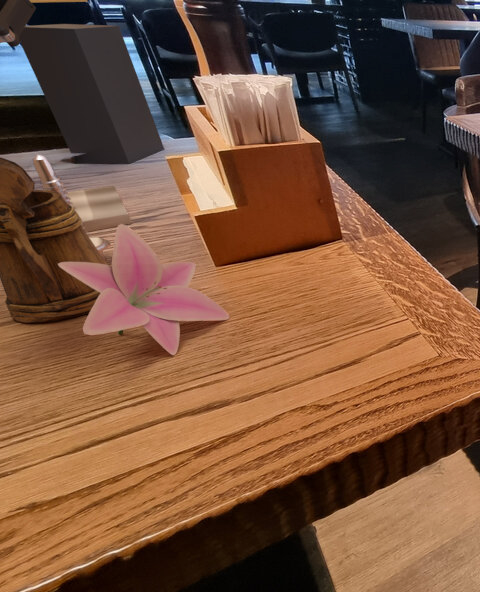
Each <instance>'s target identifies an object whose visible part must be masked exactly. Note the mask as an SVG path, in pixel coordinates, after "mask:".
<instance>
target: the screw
mask: <svg viewBox="0 0 480 592" xmlns="http://www.w3.org/2000/svg"><path fill="white" fill-rule="evenodd" d="M32 162H33V165H34V169H35V170H36V173H37V174H38V176H39V177H38V179H39V180H40V183H39V185H42V190H49V191H57V192H59V193H60V194H61V196H62V197H63V198H64V200H65V201H66V203H67V204H70V205H71V206H72V205H73V203H72V202H70V200H71V198H70V197H68V196H67V195H68V194H69V193H67V192H68V191H66V190H67V187H65V186H64V185H65V183H64V182H62V181H60V180H61V177H60V176H57V174H56V171H55V170H54V168H53V166H52V164H51V162H50V161H49V160H48V159H47V157H46V156H44V155H42V154H36V155H35V156H33V158H32ZM73 208H74V210H75V209H76V208H75V207H73ZM77 214H78V213H77ZM82 224H83V223H82ZM82 224H81V225H82ZM82 227H83V229H85V227H84V226H82ZM85 232H86V231H85ZM86 234H87V235H88V232H86ZM88 237H89V238H90V240H91V241H92V243H93V244H94V245H95V247H96V248H97V250H98V251H99V253H100V254H101V256H102V257H103V258H104V260H105V261H106V257H105V255H104V253H103V252H104V251H106V250H107V249H109V248H110V247H111V242H110V240H108V239H105V238H103V237H96V236H95V237H90V236H89V235H88Z"/></svg>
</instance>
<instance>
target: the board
mask: <svg viewBox="0 0 480 592" xmlns="http://www.w3.org/2000/svg"><path fill="white" fill-rule="evenodd" d="M66 192H67V193H69V194H68V195H67V196H68V197H70V198H71V200H70V202H72V203H73V205H72V207H75V208H76V209H75V211H76V212H77V213H78V215H79V217H80V218H81V220H82V223H83V224H82V226H84V227H85V229H84V231H86V232H87V233H88V232H94V231H99V230H105V229H110V228H117V227H118V225H120V224H123V225H126V226H128V225H132V224H133V221H132V219H131V216H130V215H129V212H128V210H127V208H126V206H125V204H124V202H123V200H122V198H121V197H120V195H119V192H118V191H117V189H116V187H115V185H107V186H101V187H94V188H87V189H80V190H73V191H66Z"/></svg>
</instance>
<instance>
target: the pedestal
mask: <svg viewBox="0 0 480 592" xmlns="http://www.w3.org/2000/svg"><path fill="white" fill-rule="evenodd" d="M19 41H20V45H21V48H22V50H23V52H24V54H25V56H26V58H27V61H28V63H29V65H30V67H31V69H32V71H33V74H34V76H35V78H36V80H37V82H38V85H39V87H40V89H41V91H42V94H43V96H44V97H45V100H46V102H47V105H48V106H49V108H50V110H51V113H52V115H53V117H54V119H55V121H56V124H57V126H58V129H59V130H60V133H61V135H62V137H63V140H64V141H65V143H66V146H67V148H68V149H69V152H70V154H77V155H73V156H72V159H73V161H74V163H75V164H79V165H83V164H84V165H85V164H86V165H87V164H88V165H91V164H92V165H113V164H114V165H130V164H132V163H135V162H137V161H140V160H142V159H145V158H147V157H149V156H151V155H155V154H157V153H159V152H161V151H164V150H165V147H164V144H163V141H162V138H161V136H160V134H159V131H158V127H157V125H156V122H155V120H154V117H153V115H152V111H151V108H150V107H149V104H148V100H147V99H146V96H145V93H144V90H143V88H142V85H141V81H140V79H139V77H138V74H137V71H136V68H135V66H134V62H133V61H132V58H131V55H130V52H129V50H128V47H127V44H126V42H125V38H124V36H123V34H122V31H121V28H120V26H119V25H102V24H101V25H100V24H79V23H78V24H77V23H76V24H74V23H58V24H57V23H56V24H55V23H54V24H39V25H38V24H37V25H26V26H25V28H24V29H23V31H22V33H21V34H20V36H19Z"/></svg>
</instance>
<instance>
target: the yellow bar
mask: <svg viewBox="0 0 480 592" xmlns="http://www.w3.org/2000/svg"><path fill="white" fill-rule="evenodd" d="M30 1H31V3H32V4H33V3H34V4H35V3H38V4H39V3H77V2H78V3H80V2H81V3H82V2H86V3H87V2H88V0H30Z"/></svg>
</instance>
